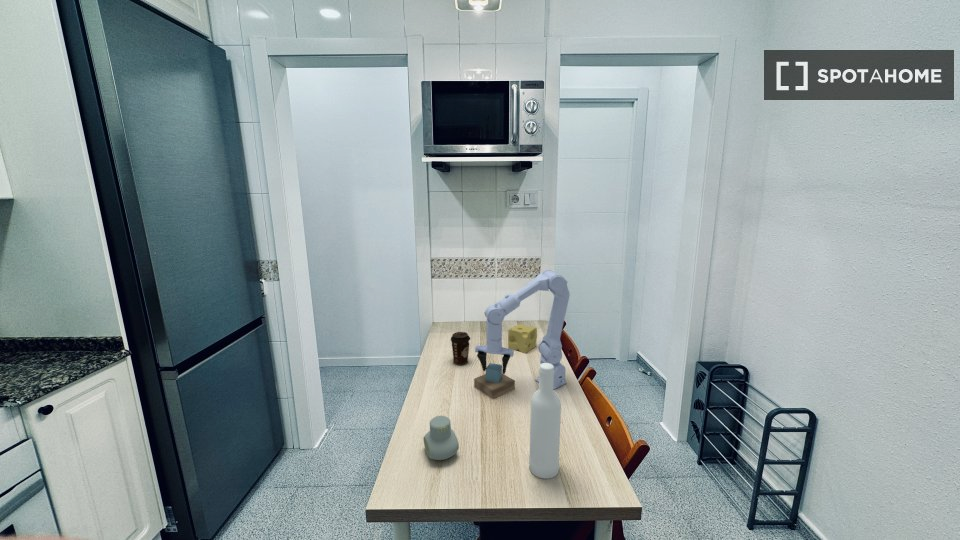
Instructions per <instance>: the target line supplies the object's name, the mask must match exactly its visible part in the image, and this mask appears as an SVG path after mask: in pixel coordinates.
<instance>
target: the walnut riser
mask: <svg viewBox="0 0 960 540" xmlns="http://www.w3.org/2000/svg"><path fill="white" fill-rule="evenodd" d="M473 381H474V382H473V384H474V385H473V387H474V388H475V389H477V390H478V391H479V392H481V393H482V394H485V395H486V396H487V397H489V398H490V399H492V400H494V399H497V398H498V397H501V396H503V395H505V394H507V393H509V392H512V391H513V390H515V389H516V381H515V380H514V379H513V378H512V377H509V376H507V375H506V374H503V373H502V378H501V380H500V381H499V383H495V382H489V381H486V373H484V374H483V375H480V376H478V377H475V378H474V379H473Z"/></svg>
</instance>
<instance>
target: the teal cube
mask: <svg viewBox="0 0 960 540" xmlns="http://www.w3.org/2000/svg"><path fill="white" fill-rule="evenodd" d="M502 371H503V364H498V363H492V362H490V363H488V364H487V365H486V370H485V374H486V381H489V382H495V383H499V381H500V380H501V378H502V374H503V372H502Z"/></svg>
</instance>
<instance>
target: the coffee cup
mask: <svg viewBox="0 0 960 540" xmlns="http://www.w3.org/2000/svg"><path fill="white" fill-rule="evenodd" d="M450 341H451V349H452V358H453V359H452V360H453V364H454V365H457V366H464V365H466V364H468V362H469V351H470V341H471V337H470V335H469V334H468V333H467V332H466V331H456V332H454V333H452V336H451V338H450Z"/></svg>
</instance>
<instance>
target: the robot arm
mask: <svg viewBox="0 0 960 540" xmlns="http://www.w3.org/2000/svg"><path fill="white" fill-rule="evenodd" d="M538 291H543V292H544V291H545V292H546V291H547V292H551V293H552V295H553V303H552V307H551V311H550V314H549V315H550V316H549V320H548V324H547V328H546V333H545V335H544V336H542V340H541V341H540V342H539V344H538V352H539V353H540V360H539V361H540V362H539V363H540V364H542V363H550V364H552V365H553V366H554V381H553V390H557V389H558V388H560V387H562V386H563V385H566V384H567V381H566V367H565V366H564V364H562V363H561V361H562V358H563V352H562V348H563V345H562V342H561V336H562V332H563V327H564V323H565V319H566V315H567V309H568V304H569V299H570V296H571V294H570V290H569V287H568V281H567V279H566V278H565V277H564V276H563V275H561V274H559V273H557V272H554V271H553V270H551V269H546V270H544V271H543V272H542V273H539V274H537V276H536V277H535V278H534V279H533V280H531V281H530V282H529V283H527V284H526V285H525V286H524V287H522V288H521V289H520V290H519V291H517V292H515V293H509V294H508V293H506V294H505V295H504V297H503V298H502V299H501V300H499V301H498V302H497V301H496V302H495V303H493V304H491V305H488V306H487V307H486V309H485V311H484V316H485V318H486V345H476V346H475V347H474V352H475V353H477V355H476V356H477V358H478V360H479V362H480V364H481V368H482V371H483V372H486V368H487V355H488V354H492V355H501V356H502V355H503V356H502V358H501V362H502V374H504V375H506V372H507V367H508V363H509V361H510V359H511V358H512V357H514V355H515V353H514V352H515V350H513V349H509V348H506V347H504V346H503V325H502V324H503V321H504V320H505V317H506V316H508V315H509V314H510V313H512V312H514V311H515V310H516V309H518V308H519V307H520V305H521V302H522V301H524V300H525V299H527V298H529V297H531V296H532V295H533V294H535V293H537V292H538ZM540 364H539V365H540ZM534 380H535V381H536V382H537V383H539V377H536V378H535V379H534Z"/></svg>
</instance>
